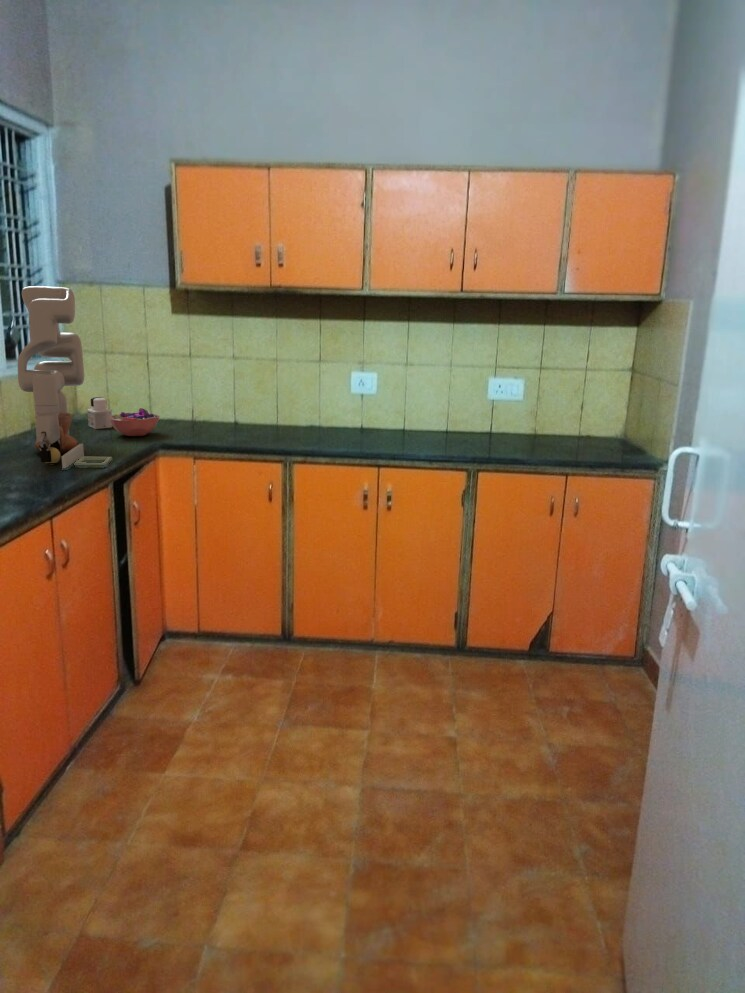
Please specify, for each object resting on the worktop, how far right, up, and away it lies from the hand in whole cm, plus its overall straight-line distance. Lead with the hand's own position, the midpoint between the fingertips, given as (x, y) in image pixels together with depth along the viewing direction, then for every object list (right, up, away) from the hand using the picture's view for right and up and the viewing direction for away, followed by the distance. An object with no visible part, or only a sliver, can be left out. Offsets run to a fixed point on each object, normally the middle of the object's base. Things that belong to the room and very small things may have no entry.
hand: (51, 458), depth 237 cm
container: (-9, +18, +66) cm, 69 cm away
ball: (0, +1, 0) cm, 1 cm away
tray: (+14, -2, +2) cm, 14 cm away
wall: (+7, -2, +3) cm, 7 cm away
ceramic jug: (-6, +3, +18) cm, 19 cm away
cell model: (+11, +13, +52) cm, 55 cm away
